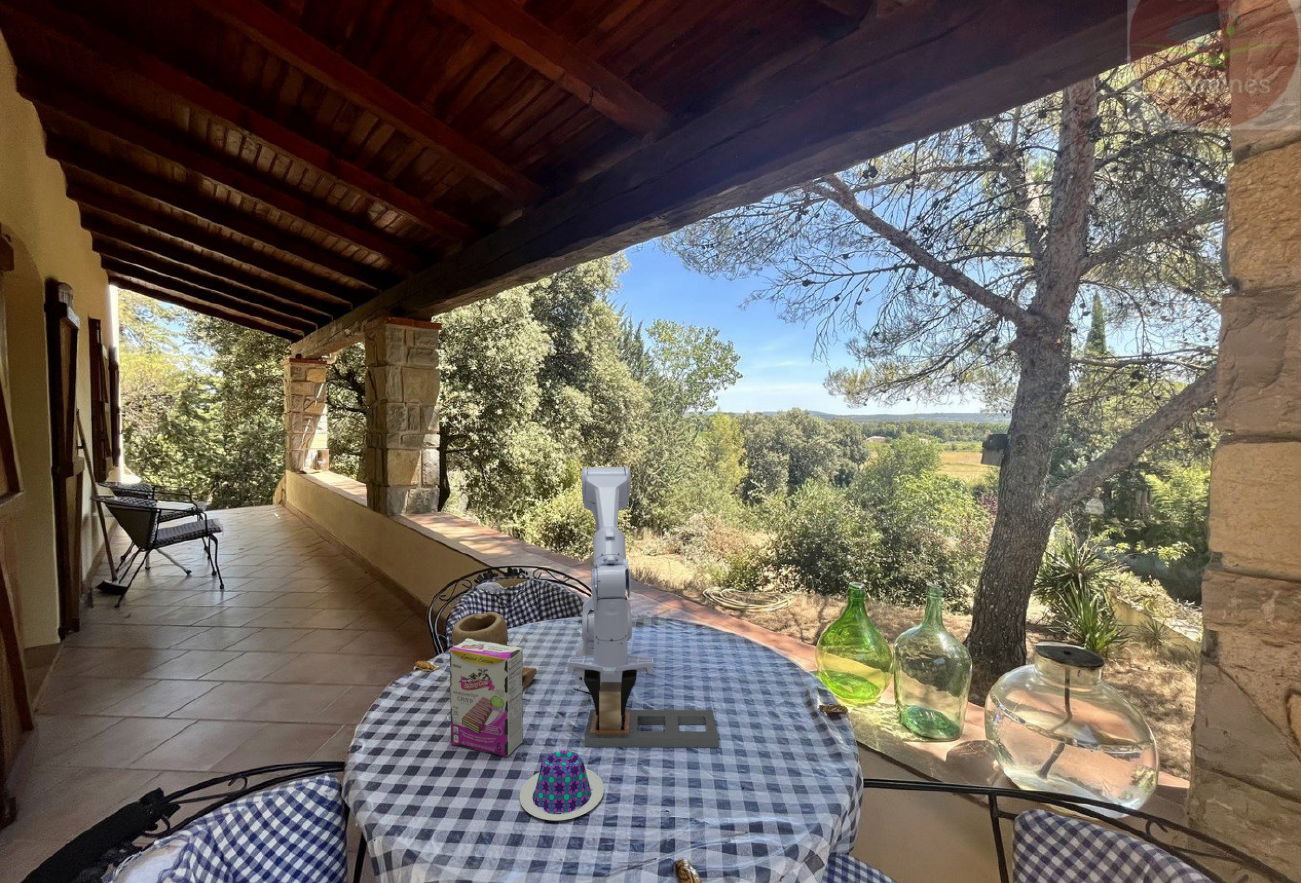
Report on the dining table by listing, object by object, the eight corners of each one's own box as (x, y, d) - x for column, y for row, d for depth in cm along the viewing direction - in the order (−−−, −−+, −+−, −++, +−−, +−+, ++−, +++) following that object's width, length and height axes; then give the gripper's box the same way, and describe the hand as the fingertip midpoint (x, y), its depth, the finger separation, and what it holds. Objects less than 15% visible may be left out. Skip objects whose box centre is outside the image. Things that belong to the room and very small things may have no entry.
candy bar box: (448, 746, 95) (447, 648, 94) (467, 730, 99) (466, 637, 99) (507, 759, 91) (506, 658, 90) (524, 742, 96) (523, 646, 95)
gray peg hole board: (584, 746, 95) (584, 736, 95) (590, 717, 104) (590, 708, 104) (718, 747, 95) (718, 737, 95) (712, 718, 104) (712, 709, 104)
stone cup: (439, 701, 109) (438, 623, 109) (469, 673, 121) (468, 603, 120) (515, 708, 107) (514, 629, 106) (538, 679, 119) (537, 607, 118)
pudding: (605, 769, 89) (605, 736, 89) (601, 825, 77) (601, 787, 77) (527, 770, 89) (527, 737, 89) (511, 826, 77) (511, 788, 77)
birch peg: (599, 732, 97) (599, 691, 97) (601, 721, 101) (601, 681, 100) (620, 732, 97) (620, 692, 97) (621, 721, 101) (621, 681, 100)
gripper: (564, 644, 94) (565, 724, 95) (653, 644, 94) (653, 725, 95) (570, 627, 101) (570, 703, 102) (653, 628, 101) (652, 703, 102)
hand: (610, 712), depth 99 cm, fingers closed on birch peg, 4 cm apart
